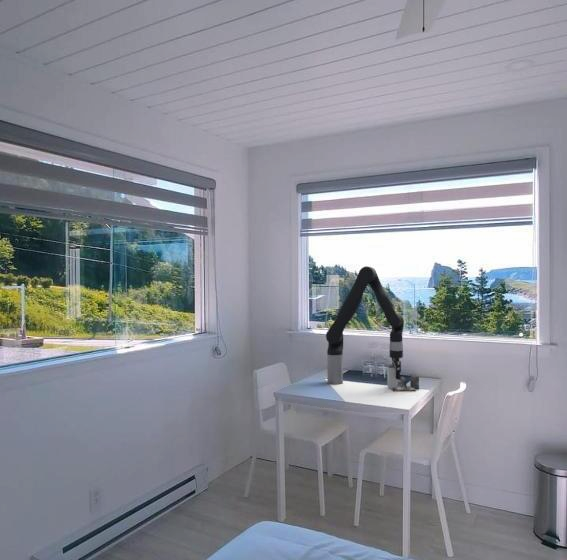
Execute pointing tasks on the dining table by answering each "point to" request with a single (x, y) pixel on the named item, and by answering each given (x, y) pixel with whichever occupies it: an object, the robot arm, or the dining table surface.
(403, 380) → the gauge plunger
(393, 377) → the force gauge
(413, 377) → the test stand
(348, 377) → the dining table surface
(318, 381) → the dining table surface
